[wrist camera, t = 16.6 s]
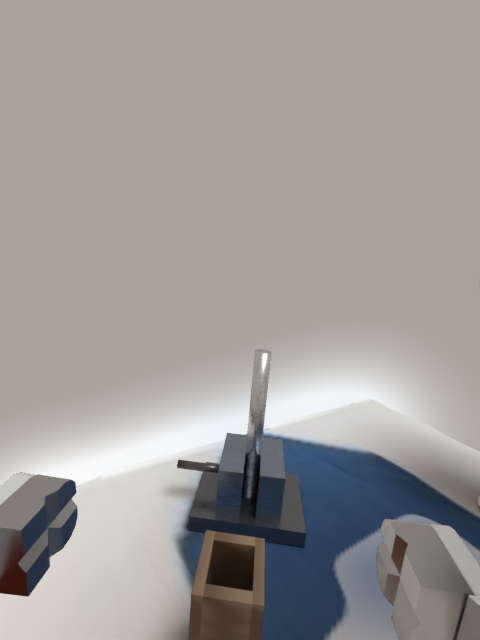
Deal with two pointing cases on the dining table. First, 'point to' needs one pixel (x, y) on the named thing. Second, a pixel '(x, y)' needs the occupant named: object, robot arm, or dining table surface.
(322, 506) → the dining table surface
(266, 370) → the vise
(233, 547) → the walnut sleeve
